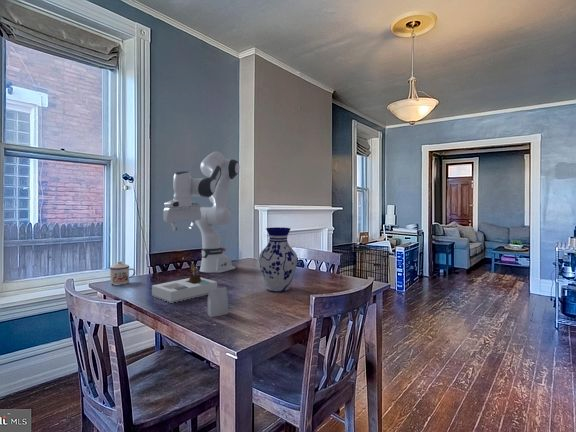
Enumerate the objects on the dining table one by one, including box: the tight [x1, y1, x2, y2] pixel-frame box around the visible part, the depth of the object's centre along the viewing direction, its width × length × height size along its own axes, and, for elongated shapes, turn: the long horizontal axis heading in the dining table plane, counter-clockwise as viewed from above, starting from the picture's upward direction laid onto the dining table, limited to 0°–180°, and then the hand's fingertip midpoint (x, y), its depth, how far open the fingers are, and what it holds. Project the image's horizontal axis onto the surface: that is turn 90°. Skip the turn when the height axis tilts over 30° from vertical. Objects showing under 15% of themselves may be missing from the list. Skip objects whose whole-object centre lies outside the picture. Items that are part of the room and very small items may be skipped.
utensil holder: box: [188, 263, 202, 284], centre depth 160 cm, size 6×6×12 cm
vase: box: [258, 226, 298, 293], centre depth 166 cm, size 19×19×30 cm
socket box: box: [151, 277, 218, 304], centre depth 156 cm, size 24×16×5 cm, turn 139°
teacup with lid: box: [109, 260, 136, 285], centre depth 176 cm, size 12×9×12 cm
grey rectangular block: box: [207, 286, 229, 318], centre depth 130 cm, size 4×7×10 cm, turn 123°
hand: (183, 229), depth 174 cm, fingers open, 8 cm apart
